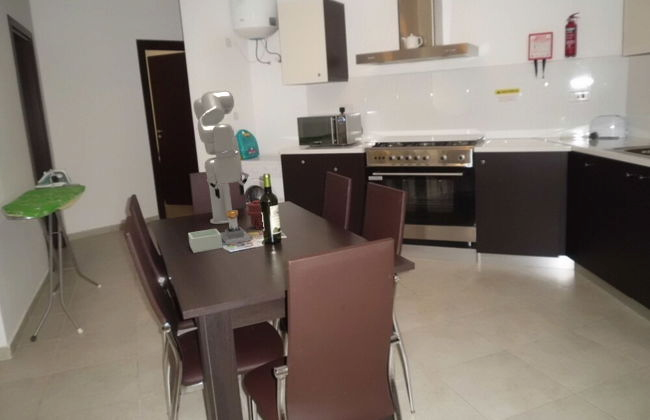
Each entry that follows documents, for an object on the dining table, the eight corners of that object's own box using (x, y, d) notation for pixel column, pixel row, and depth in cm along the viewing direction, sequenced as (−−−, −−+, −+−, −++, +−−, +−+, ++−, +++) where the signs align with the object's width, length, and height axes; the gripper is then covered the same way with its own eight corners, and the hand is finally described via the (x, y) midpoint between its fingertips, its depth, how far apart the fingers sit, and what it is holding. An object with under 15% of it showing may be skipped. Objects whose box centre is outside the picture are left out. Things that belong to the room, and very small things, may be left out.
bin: (190, 246, 207) (188, 232, 205) (217, 241, 211) (216, 228, 209) (193, 252, 196) (191, 239, 195) (222, 247, 200) (220, 234, 199)
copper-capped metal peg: (227, 234, 213) (225, 211, 211) (239, 232, 215) (236, 209, 213) (230, 236, 209) (227, 213, 207) (241, 234, 211) (238, 211, 209)
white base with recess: (220, 237, 217) (219, 228, 216) (243, 233, 221) (242, 224, 220) (226, 244, 204) (225, 235, 203) (250, 240, 208) (249, 231, 207)
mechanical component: (273, 224, 233) (266, 230, 223) (252, 225, 235) (245, 230, 225) (270, 198, 230) (263, 203, 221) (250, 199, 232) (242, 203, 223)
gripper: (244, 152, 211) (248, 192, 215) (202, 157, 205) (207, 198, 209) (248, 153, 204) (252, 194, 208) (205, 158, 198) (210, 200, 202)
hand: (230, 196), depth 208 cm, fingers open, 9 cm apart
